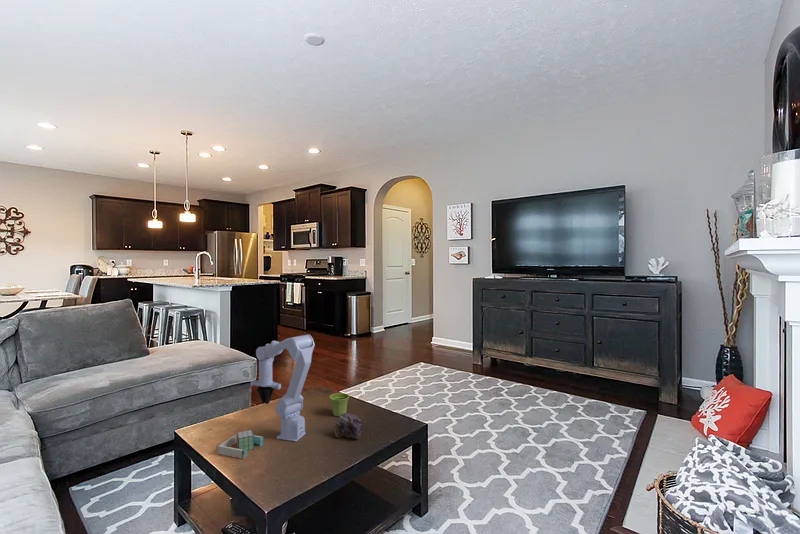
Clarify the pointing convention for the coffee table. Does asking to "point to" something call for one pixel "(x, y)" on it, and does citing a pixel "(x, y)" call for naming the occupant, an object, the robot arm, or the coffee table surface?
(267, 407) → the coffee table surface
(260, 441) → the white frame
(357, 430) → the rock
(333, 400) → the plant pot
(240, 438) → the puzzle toy
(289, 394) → the robot arm
